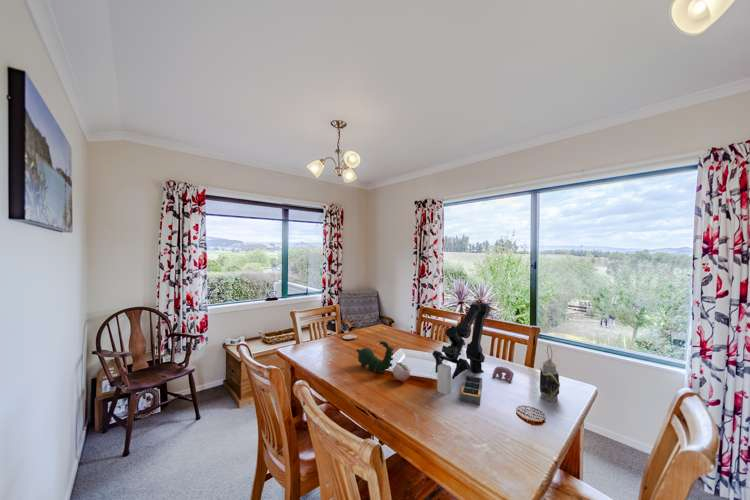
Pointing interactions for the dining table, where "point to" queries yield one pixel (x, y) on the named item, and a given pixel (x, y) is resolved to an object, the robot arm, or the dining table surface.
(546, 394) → the lantern
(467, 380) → the rack
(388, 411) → the dining table surface
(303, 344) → the dining table surface
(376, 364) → the toy figurine
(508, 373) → the video game controller
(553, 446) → the dining table surface
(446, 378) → the light grey block
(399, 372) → the decorative fruit
